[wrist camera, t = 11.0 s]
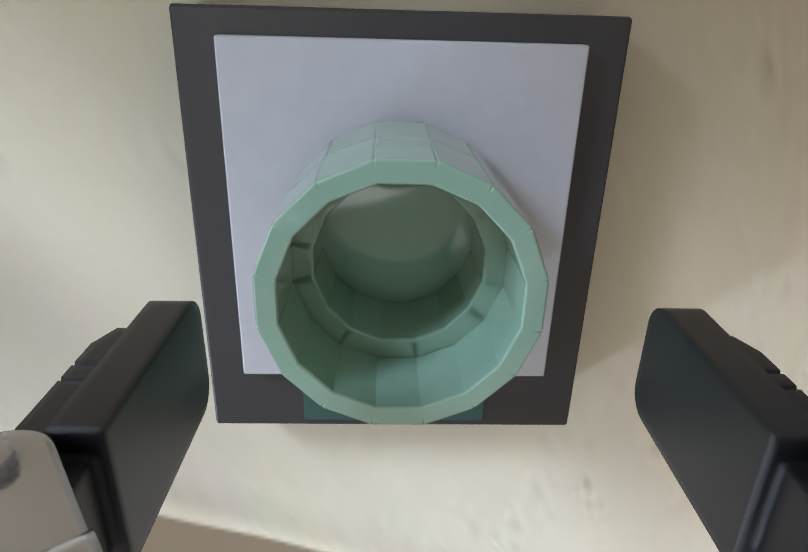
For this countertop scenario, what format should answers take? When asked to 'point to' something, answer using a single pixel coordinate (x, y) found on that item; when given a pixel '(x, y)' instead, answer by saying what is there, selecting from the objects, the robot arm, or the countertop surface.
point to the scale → (392, 101)
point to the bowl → (399, 277)
